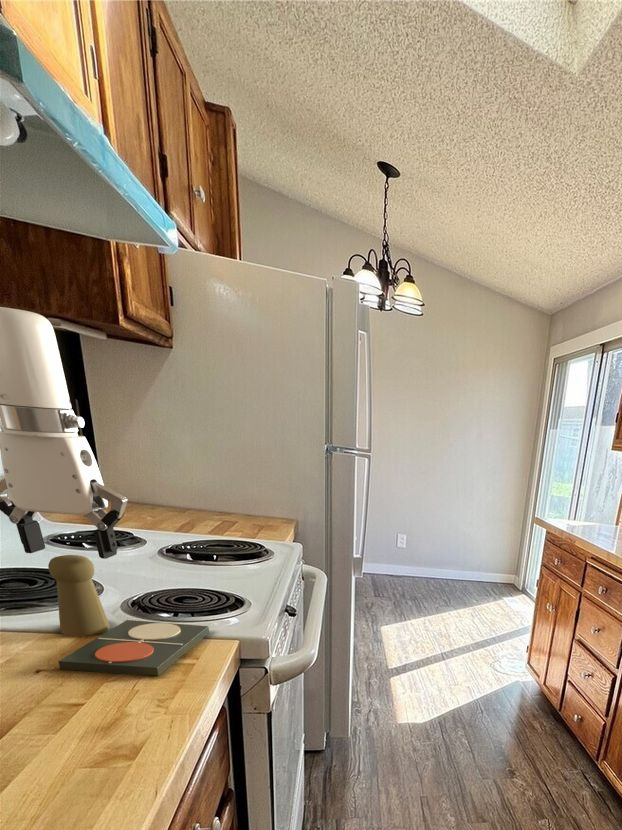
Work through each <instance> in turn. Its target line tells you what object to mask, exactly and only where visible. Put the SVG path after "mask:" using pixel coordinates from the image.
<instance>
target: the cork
mask: <svg viewBox="0 0 622 830" xmlns="http://www.w3.org/2000/svg"><path fill="white" fill-rule="evenodd" d="M47 568H48V569H47V570H48V572H49V574H50V576H51V578H53V579H54V580H55V581H56V592H57V605H58V618H59V630H60V631H59V632H60V633H61V634H62V635H65V636H71V637H86V636H88V637H89V636H94V635H98V634H104V633H106V632H108V631H109V630H110V628H111V626H110V623H109V620H108V617H107V615H106V612H105V609H104V607H103V603H102V602H101V599H100V597H99V594H98V591H97V589H96V586H95V584H94V581H93V577H94V575H95V566H94V564H93V562H92V560H90V559H89V558H88V557H86V556H83V555H78V554H65V555H57V556H55V557H53V558H51V559H50V560H49V562H48V566H47Z"/></svg>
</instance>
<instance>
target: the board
mask: <svg viewBox="0 0 622 830" xmlns="http://www.w3.org/2000/svg"><path fill="white" fill-rule="evenodd" d="M209 634H210V627H209V626H208V625H197V624H185V623H173V622H172V623H171V622H158V621H147V620H146V621H145V620H133V619H126V620H124V621H122V622H121V623H119V624H118V625H116V626H114V627H113V628H111V629H108V630H107V631H105V632H103V633H102V634H101V635H99V636H97V637H96V638H94V639H93V640H91V641H89V642H88V643H86V644H84V645H82V646H81V647H79V648H78V649H75V650H74V651H73V652H71V653H70V654H67V655H66V656H64V657H62V658H60V659H59V660H58V662H57V663H58V667H59V669H60V670H66V671H79V672H94V673H109V674H121V675H122V674H123V675H125V674H126V675H139V676H152V677H159V676H160V675H162V674H163V673H164V672H165V671H166V670H168V669H169V668H170V667H171V666H172V665H173V664H175V663H176V662H177V661H178V660H179V659H181V658H183V656H184V655H186V654H187V653H188V652H189V651H190V650H191V649H193V648H194V647H195V646H196V645H197V644H198V643H200V642H201V641H202V640H203V639H204V638H206V637H207V636H208V635H209Z"/></svg>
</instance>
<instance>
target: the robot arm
mask: <svg viewBox="0 0 622 830" xmlns="http://www.w3.org/2000/svg"><path fill="white" fill-rule="evenodd" d="M60 354H61V353H60V350H59V346H58V341H57V337H56V333H55V330H54V326H53V325H52V322H50V321H49V319H48V318H46V317H45V316H44V315H41V314H40V313H36V312H34V311H28V310H25V309H18V308H11V307H6V306H0V422H1V426H2V429H3V430H0V457H1V459H0V460H1V463H2V469H3V475H4V478H2V479H0V511H1V512H2V513H3V514H4V515H6V517H8V520H9V522H11V523H12V524H14V525H16V529H17V533H18V536H19V540H20V542H21V544H22V547H23V550H24V552H25V553H26V554H34V553H36V552H37V553H38V552H39V551H44V550H45V549H46V544H45V539H44V537H43V533H42V530H41V525H40V522H38V520H36V519H35V520H34V518H35V516H36V515H37V513H46V514H47V513H48V514H58V515H70V516H71V515H72V516H84V517H85V518H86V519H87V520H88V521H90V523H91V524H93V525H94V526H95V527H96V529H94V530H93V536H94V540H95V544H96V549H97V553H98V557H99V558H100V559H102V560H103V559H104V560H106V559H109V558H112V557H113V556H116V555H117V553H118V543H117V538H116V534H115V527H117V526H118V523H119V522H120V521H121V520H122V519H123V517H124V515H125V513H124V512H125V511H126V508H127V505H128V503H129V501H128V498H127V497H126V496H124V495H122V494H120V493H118V492H116V491H114V490H113V489H111V488H109V487H108V486H105V484H104V482H103V478H102V475H101V471H100V469H99V466H98V462H97V460H96V458H95V455H94V453H93V451H92V448H91V446H90V444H89V442H88V440H87V438H86V436H84V435H79V434H78V432H79V429H78V428H84V427H85V419H84V418H83V417H82V416H79V415H76V414H75V412H74V409H72V403H71V399H70V395H69V391H68V385H67V380H66V377H65V372H64V368H63V367H64V366H63V363H62V358H61V355H60ZM7 492H8V494H9V496H8V495H7ZM9 497H10V498H9ZM10 499H11V500H10ZM109 504H110V510H109V511H106V509H107V508H108V507H109Z"/></svg>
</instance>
